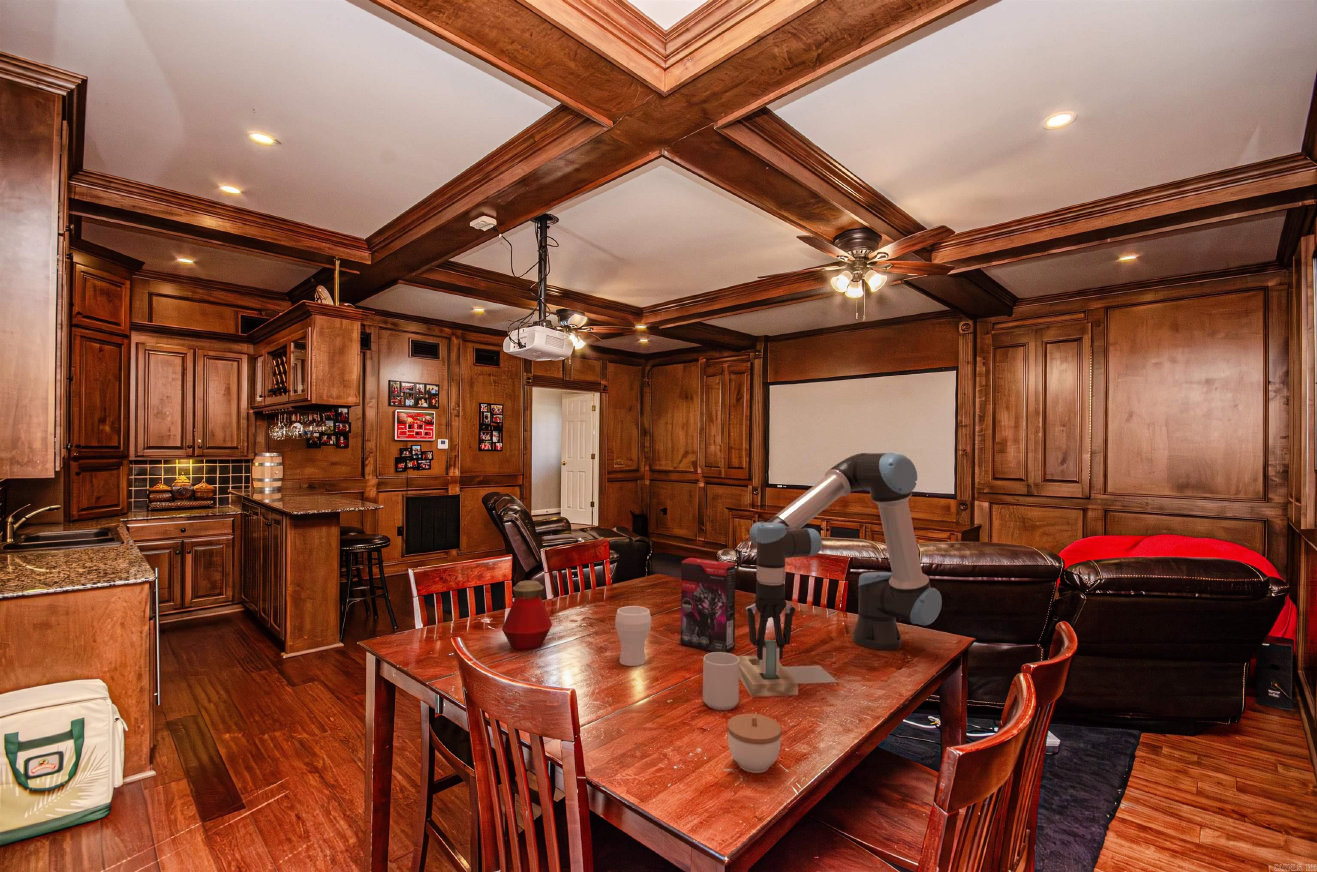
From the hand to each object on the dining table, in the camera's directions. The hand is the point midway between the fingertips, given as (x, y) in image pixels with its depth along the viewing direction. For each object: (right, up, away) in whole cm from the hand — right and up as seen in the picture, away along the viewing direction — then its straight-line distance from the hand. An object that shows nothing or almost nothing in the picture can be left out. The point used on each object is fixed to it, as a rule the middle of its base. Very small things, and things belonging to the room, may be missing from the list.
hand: (769, 671), depth 151 cm
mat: (+13, -5, +10) cm, 17 cm away
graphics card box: (-14, -6, +32) cm, 35 cm away
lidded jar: (-10, -4, -37) cm, 38 cm away
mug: (-13, -5, -8) cm, 16 cm away
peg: (0, -4, 0) cm, 4 cm away
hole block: (-1, -5, +5) cm, 7 cm away
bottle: (-71, -4, +30) cm, 77 cm away
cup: (-37, -5, +18) cm, 41 cm away
